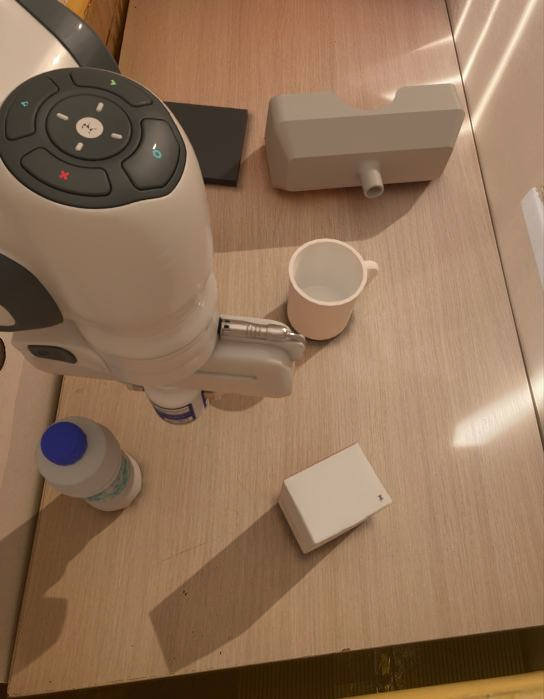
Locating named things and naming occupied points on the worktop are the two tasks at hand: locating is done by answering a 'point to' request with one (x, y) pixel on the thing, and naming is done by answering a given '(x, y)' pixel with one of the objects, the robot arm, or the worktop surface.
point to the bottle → (87, 463)
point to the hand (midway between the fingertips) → (176, 387)
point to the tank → (361, 139)
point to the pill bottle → (177, 403)
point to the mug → (325, 287)
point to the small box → (331, 497)
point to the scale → (214, 139)
